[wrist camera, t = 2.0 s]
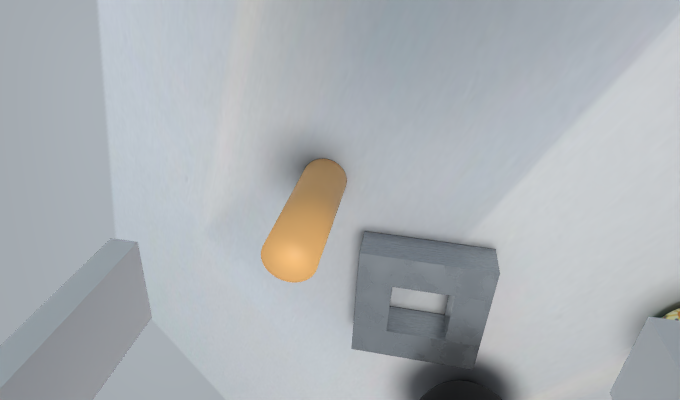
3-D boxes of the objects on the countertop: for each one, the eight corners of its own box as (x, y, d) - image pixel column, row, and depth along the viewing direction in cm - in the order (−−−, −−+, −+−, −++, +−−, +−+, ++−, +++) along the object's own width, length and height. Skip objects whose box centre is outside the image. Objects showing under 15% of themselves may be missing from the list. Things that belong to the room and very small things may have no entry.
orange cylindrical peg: (303, 156, 42) (259, 231, 32) (347, 161, 41) (318, 239, 31) (302, 195, 44) (261, 277, 34) (345, 200, 43) (316, 286, 33)
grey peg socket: (364, 231, 45) (359, 253, 42) (495, 249, 43) (499, 273, 40) (356, 323, 51) (351, 348, 48) (470, 342, 49) (472, 369, 46)
